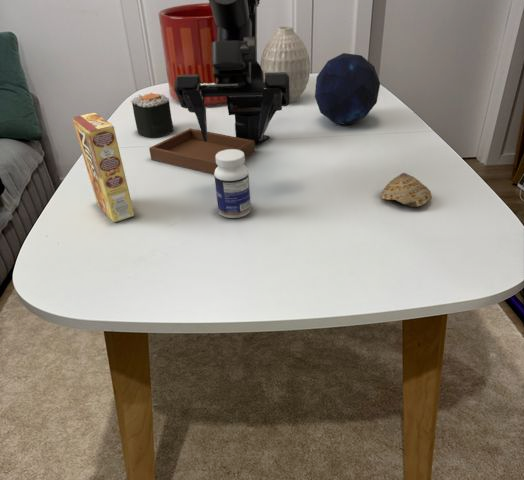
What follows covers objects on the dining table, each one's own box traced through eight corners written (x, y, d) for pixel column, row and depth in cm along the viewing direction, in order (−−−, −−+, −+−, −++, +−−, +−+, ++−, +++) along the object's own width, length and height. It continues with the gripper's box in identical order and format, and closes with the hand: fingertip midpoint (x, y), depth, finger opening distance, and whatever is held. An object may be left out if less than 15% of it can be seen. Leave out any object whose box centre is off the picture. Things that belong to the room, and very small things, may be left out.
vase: (310, 106, 131) (312, 31, 120) (261, 108, 131) (258, 33, 120) (308, 92, 141) (309, 21, 130) (261, 94, 141) (259, 23, 130)
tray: (191, 139, 116) (190, 128, 114) (255, 152, 108) (254, 140, 107) (151, 159, 108) (149, 147, 106) (217, 175, 100) (216, 162, 98)
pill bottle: (218, 205, 90) (212, 149, 83) (250, 203, 90) (246, 146, 84) (218, 220, 86) (212, 162, 79) (252, 218, 86) (248, 159, 79)
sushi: (157, 123, 125) (151, 88, 120) (179, 130, 121) (174, 94, 116) (131, 133, 121) (124, 97, 116) (153, 140, 117) (147, 103, 111)
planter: (243, 108, 132) (237, 16, 118) (159, 107, 135) (144, 18, 122) (259, 84, 149) (256, 1, 135) (184, 84, 152) (174, 3, 139)
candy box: (136, 216, 88) (115, 124, 78) (112, 223, 86) (88, 130, 76) (117, 199, 94) (95, 111, 84) (95, 205, 92) (70, 116, 82)
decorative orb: (349, 115, 108) (377, 42, 105) (293, 103, 116) (318, 35, 113) (373, 140, 120) (399, 76, 117) (321, 128, 128) (344, 68, 125)
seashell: (408, 204, 83) (381, 170, 85) (395, 228, 88) (370, 195, 90) (446, 192, 85) (419, 160, 88) (431, 216, 90) (406, 184, 93)
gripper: (167, 17, 78) (164, 115, 77) (289, 12, 76) (287, 113, 75) (183, 62, 89) (181, 149, 88) (290, 59, 87) (289, 147, 86)
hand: (232, 140), depth 84 cm, fingers open, 9 cm apart
